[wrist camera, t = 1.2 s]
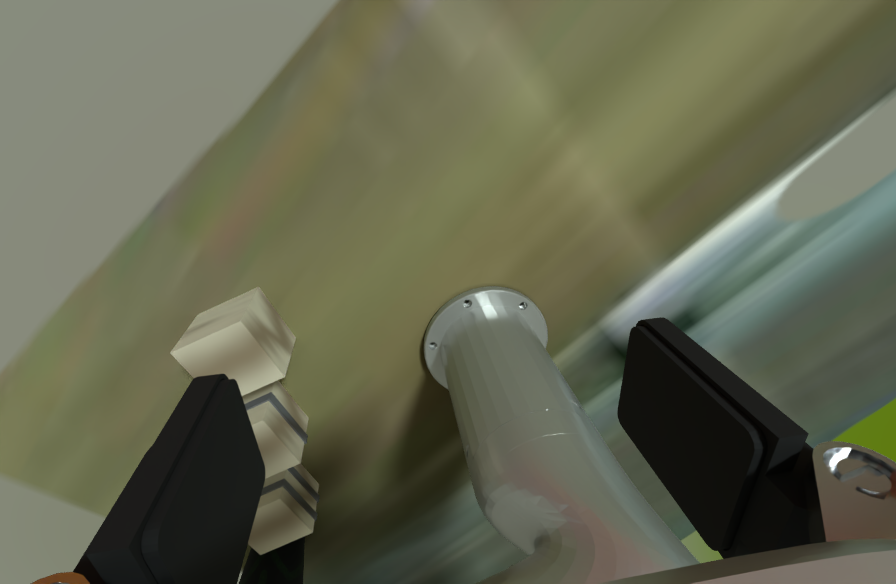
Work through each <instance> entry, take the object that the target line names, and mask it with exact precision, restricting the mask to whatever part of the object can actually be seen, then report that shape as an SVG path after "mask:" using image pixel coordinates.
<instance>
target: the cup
mask: <svg viewBox="0 0 896 584" xmlns="http://www.w3.org/2000/svg"><path fill="white" fill-rule="evenodd" d="M304 544H305V536H304V537H302V538H299V539H297V540H295V541H292V542H290V543H288V544H285V545H283V546H281V547H278V548H276V549H274V550H271V551H269V552H267V553H264V554H262V555H260V554H259V553H258V552H256V551H255V550H254V549H253V548H251V550H250V553H249V556H248V559H247V562H246V565H245V567H244V570H243V573H242V576H241V579H240V582H239V584H303V567H304Z"/></svg>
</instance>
